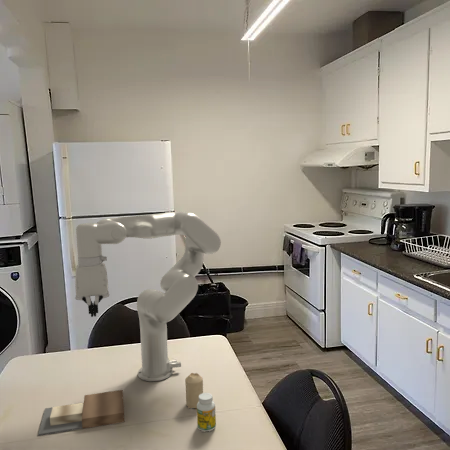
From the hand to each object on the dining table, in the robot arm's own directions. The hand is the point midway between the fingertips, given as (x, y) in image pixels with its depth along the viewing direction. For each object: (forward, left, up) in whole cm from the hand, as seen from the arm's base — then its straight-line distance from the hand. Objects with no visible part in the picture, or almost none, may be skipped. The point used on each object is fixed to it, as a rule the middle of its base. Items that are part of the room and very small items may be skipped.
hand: (93, 315), depth 144 cm
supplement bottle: (-31, +30, -27) cm, 51 cm away
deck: (-2, +14, -27) cm, 30 cm away
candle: (-30, +17, -27) cm, 44 cm away
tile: (+9, +14, -25) cm, 30 cm away
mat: (+10, +14, -27) cm, 32 cm away
